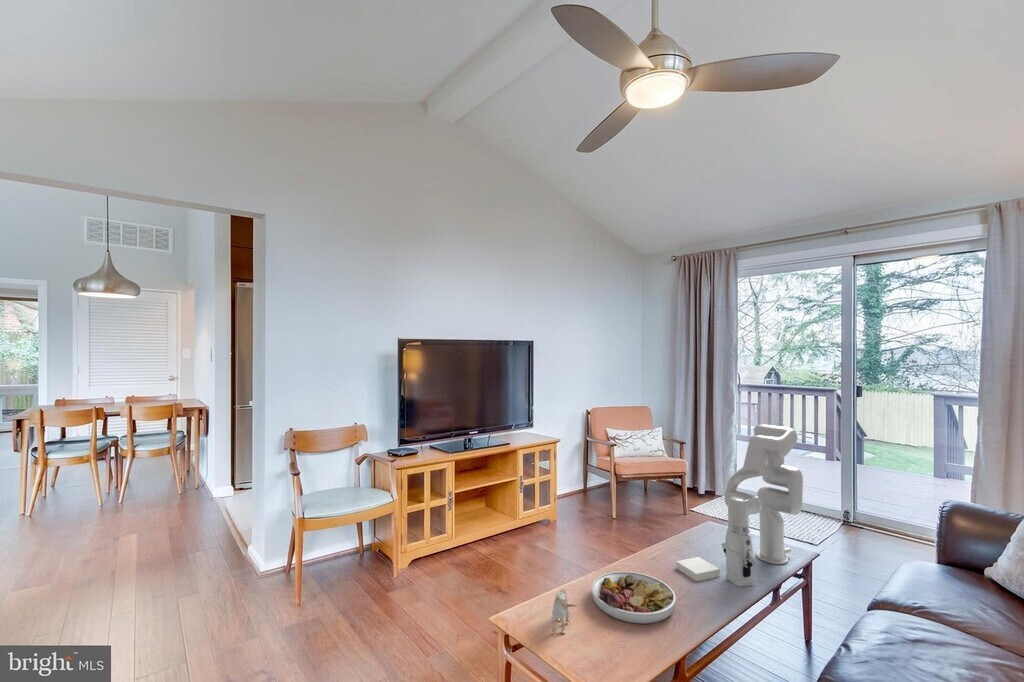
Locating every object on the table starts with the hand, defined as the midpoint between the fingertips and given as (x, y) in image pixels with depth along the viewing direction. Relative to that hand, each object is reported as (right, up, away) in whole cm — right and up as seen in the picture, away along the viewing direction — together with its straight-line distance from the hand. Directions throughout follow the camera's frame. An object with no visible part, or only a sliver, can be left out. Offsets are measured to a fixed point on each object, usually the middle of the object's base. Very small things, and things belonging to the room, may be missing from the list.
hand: (738, 571), depth 188 cm
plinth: (-13, -4, +8) cm, 16 cm away
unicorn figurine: (-73, -4, -33) cm, 80 cm away
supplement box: (+1, -4, 0) cm, 4 cm away
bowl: (-47, -4, -16) cm, 50 cm away
